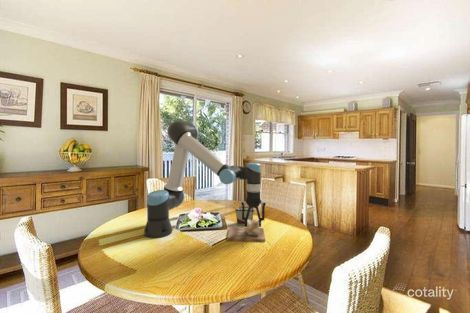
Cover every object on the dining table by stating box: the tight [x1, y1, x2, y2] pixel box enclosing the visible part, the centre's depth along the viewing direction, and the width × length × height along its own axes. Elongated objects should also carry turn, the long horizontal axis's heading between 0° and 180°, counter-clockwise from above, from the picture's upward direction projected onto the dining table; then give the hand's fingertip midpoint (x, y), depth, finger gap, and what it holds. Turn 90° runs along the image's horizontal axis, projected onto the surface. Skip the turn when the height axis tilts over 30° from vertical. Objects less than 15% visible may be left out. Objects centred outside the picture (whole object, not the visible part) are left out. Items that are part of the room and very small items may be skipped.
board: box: [226, 226, 266, 243], centre depth 133 cm, size 20×16×1 cm
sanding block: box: [248, 219, 258, 236], centre depth 133 cm, size 5×9×6 cm, turn 178°
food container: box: [234, 206, 255, 225], centre depth 153 cm, size 12×6×10 cm, turn 84°
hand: (252, 232), depth 133 cm, fingers closed on sanding block, 5 cm apart
